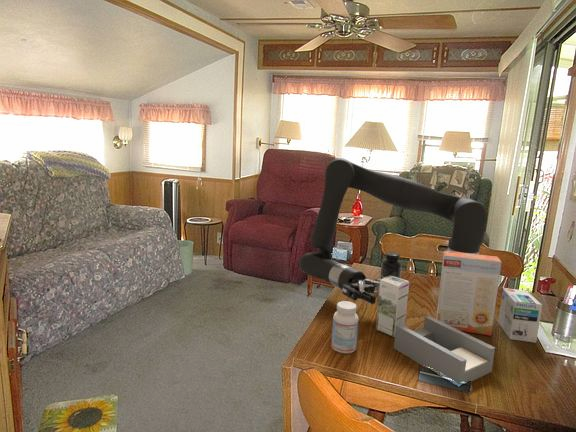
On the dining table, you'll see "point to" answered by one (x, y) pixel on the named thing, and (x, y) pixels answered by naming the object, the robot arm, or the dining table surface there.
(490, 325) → the cracker box
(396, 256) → the supplement bottle
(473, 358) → the trap lane
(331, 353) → the dining table surface
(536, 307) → the light bulb box
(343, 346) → the pill bottle
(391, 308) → the syrup box
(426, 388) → the dining table surface
